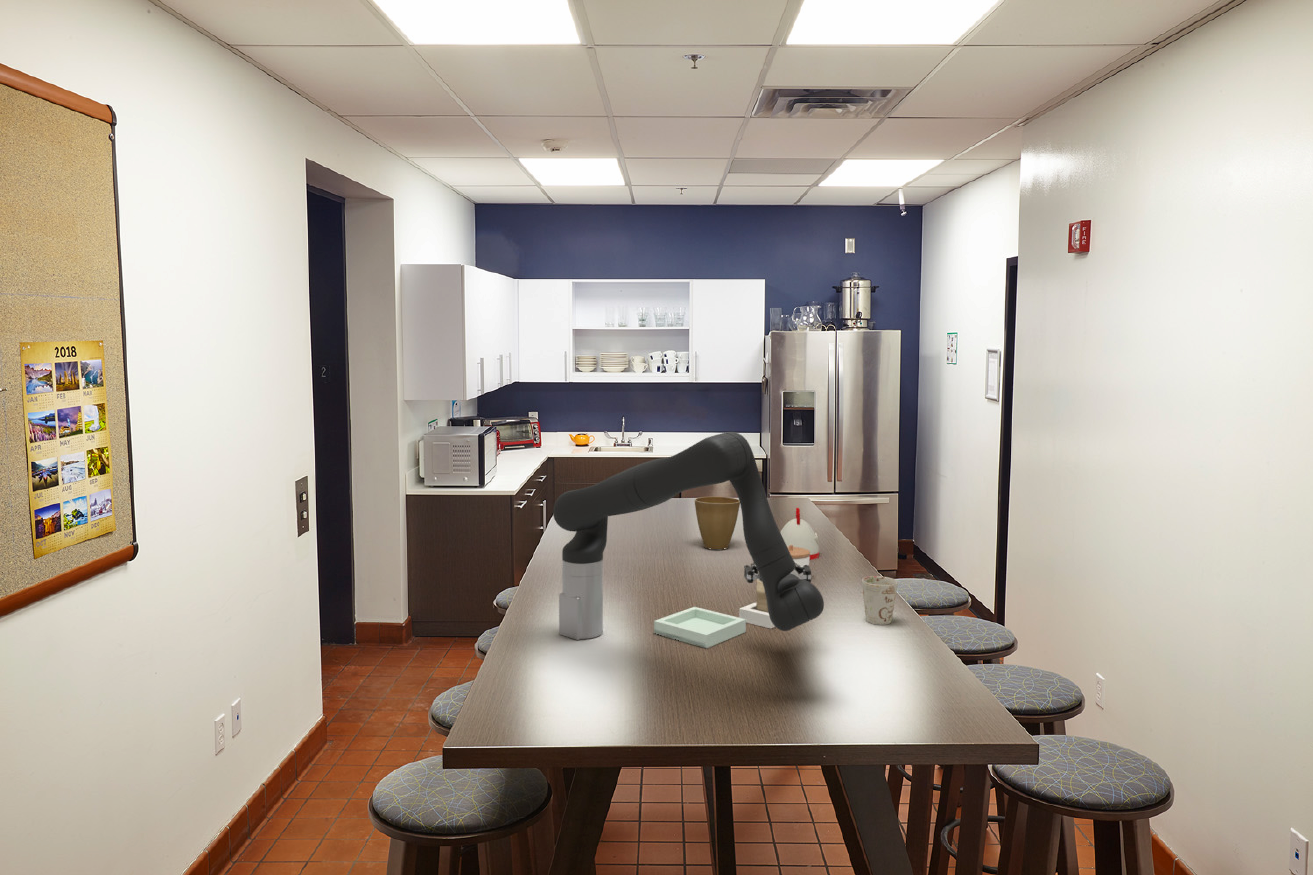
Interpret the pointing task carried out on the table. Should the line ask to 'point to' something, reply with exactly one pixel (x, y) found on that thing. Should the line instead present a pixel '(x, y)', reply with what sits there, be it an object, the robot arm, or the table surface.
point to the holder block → (755, 616)
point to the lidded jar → (799, 555)
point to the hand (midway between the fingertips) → (773, 565)
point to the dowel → (761, 597)
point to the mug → (879, 599)
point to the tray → (700, 627)
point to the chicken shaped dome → (801, 535)
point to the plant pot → (716, 520)
